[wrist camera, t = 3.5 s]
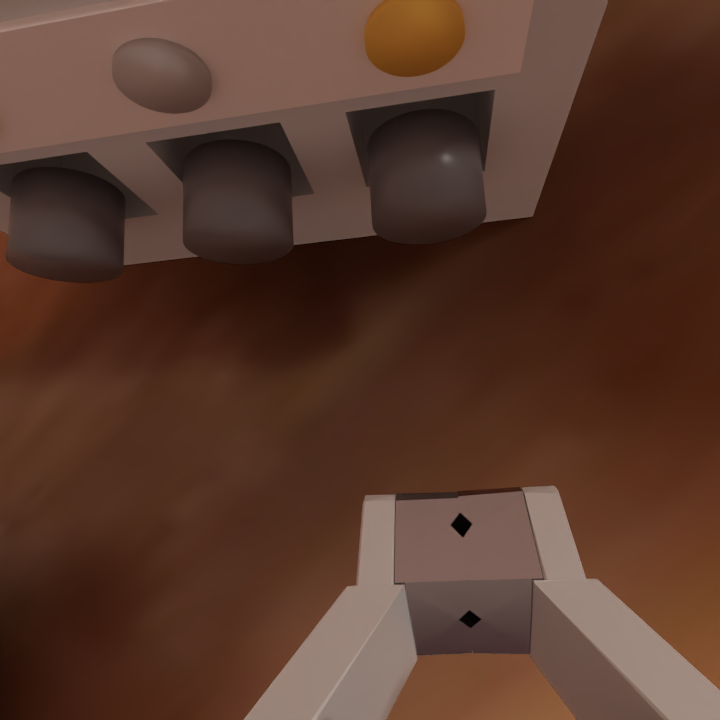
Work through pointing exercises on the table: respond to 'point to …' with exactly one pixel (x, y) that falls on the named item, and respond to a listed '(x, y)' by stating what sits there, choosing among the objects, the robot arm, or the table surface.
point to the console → (281, 95)
